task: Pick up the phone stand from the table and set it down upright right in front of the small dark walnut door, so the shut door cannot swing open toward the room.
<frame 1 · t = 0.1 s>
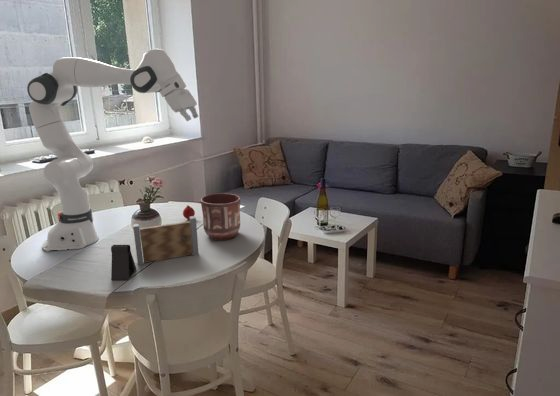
hand: (193, 118, 169), 54 cm above the table, tool tilted 30°, fingers open, 8 cm apart
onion: (189, 220, 216), on the table
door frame: (167, 258, 172), on the table
pottery: (222, 236, 195), on the table
phone stand: (124, 275, 159), on the table
door: (167, 242, 169), point 7 cm above the table, hinge at 0.0°
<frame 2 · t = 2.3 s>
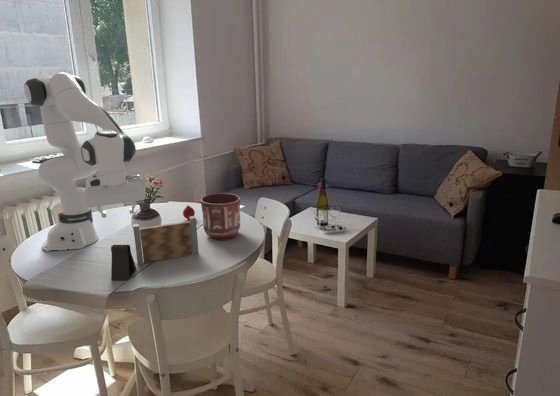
hand: (118, 215, 152), 24 cm above the table, tool pointing down, fingers open, 8 cm apart
nothing on the table moved.
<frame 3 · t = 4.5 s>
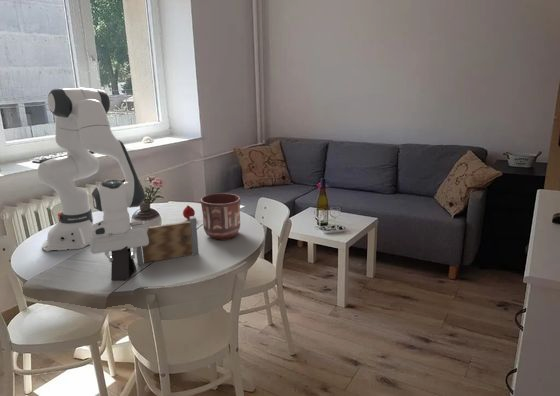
hand: (122, 259, 157), 6 cm above the table, tool pointing down, fingers closed on phone stand, 6 cm apart
phone stand: (124, 275, 159), on the table, touching gripper
everything else where it was.
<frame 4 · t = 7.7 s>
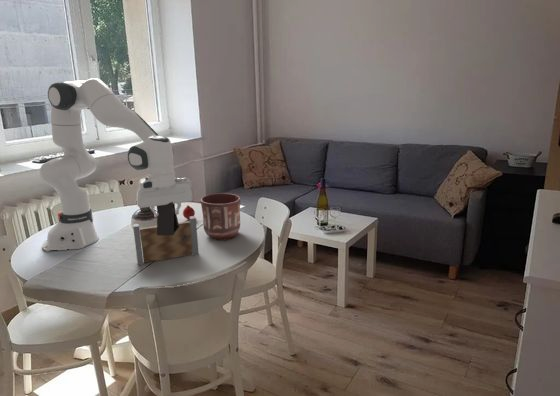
hand: (166, 215, 161), 20 cm above the table, tool pointing down, fingers closed on phone stand, 6 cm apart
phone stand: (168, 231, 162), point 14 cm above the table, touching gripper
everything else where it was.
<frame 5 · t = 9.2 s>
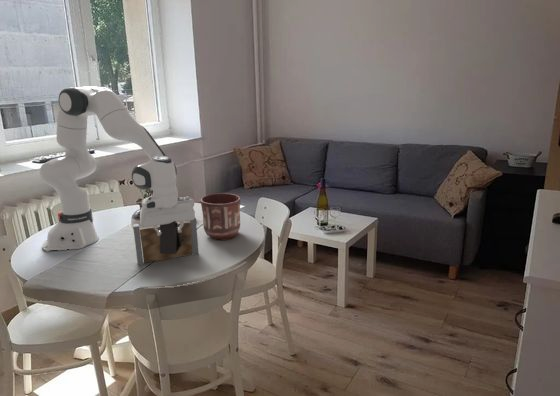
hand: (169, 233, 163), 13 cm above the table, tool pointing down, fingers closed on phone stand, 6 cm apart
phone stand: (171, 249, 165), point 6 cm above the table, touching gripper
everything else where it was.
when the fingers open (7 cm above the table, at t = 10.8 s): phone stand drops 1 cm, on the table.
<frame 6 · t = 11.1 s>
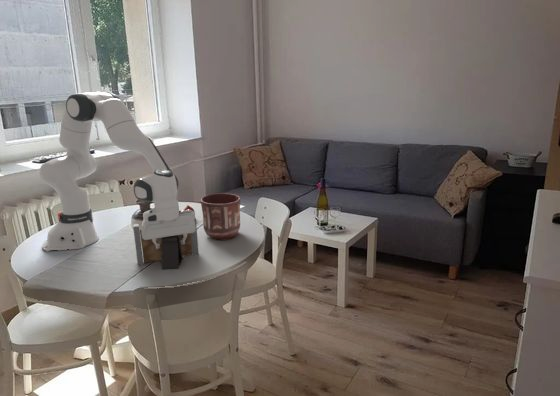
hand: (170, 246, 165), 8 cm above the table, tool pointing down, fingers open, 8 cm apart
phone stand: (173, 264, 167), on the table
everything else where it was.
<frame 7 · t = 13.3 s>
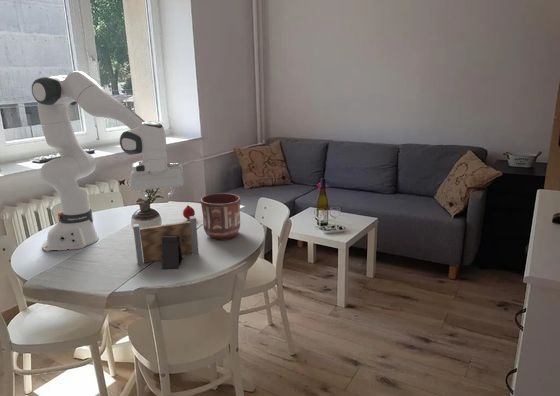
hand: (158, 198, 167), 25 cm above the table, tool pointing down, fingers open, 8 cm apart
nothing on the table moved.
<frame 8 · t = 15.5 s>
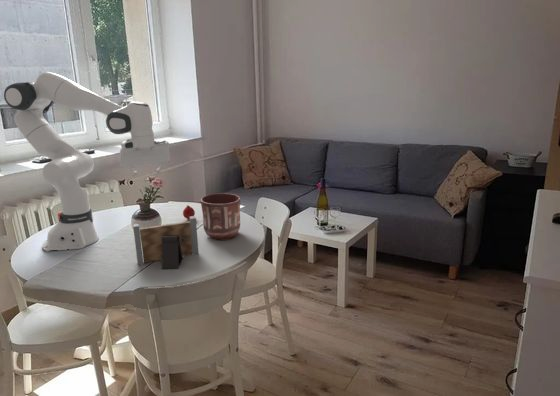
hand: (146, 174, 178), 31 cm above the table, tool pointing down, fingers open, 8 cm apart
nothing on the table moved.
at the end: phone stand inside the target area (0.2 cm from its centre), on the table; phone stand tilted 0°; door at +0° (first picture: +0°) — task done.
